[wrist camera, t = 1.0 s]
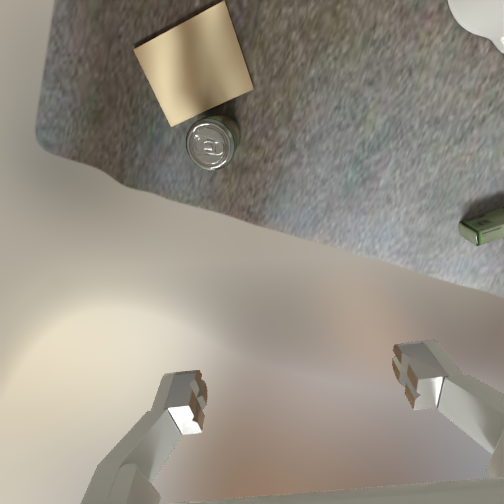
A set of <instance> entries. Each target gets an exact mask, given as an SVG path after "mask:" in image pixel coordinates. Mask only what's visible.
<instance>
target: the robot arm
mask: <svg viewBox="0 0 504 504" xmlns="http://www.w3.org/2000/svg"><path fill="white" fill-rule="evenodd" d="M448 4H449V7H450V10H451V12H452V14H453V16H454V17H455V19H456V20H457V22H458V23H459V24H460V25H461V26H462V27H463V28H464V29H466V30H467V31H469V32H471V33H473V34H476V35H479V36H483V37H486V38H488V39H490V40H492V42H493V43H494V44H495V46H496V47H497V48H498V49H499V50H500V51H501V52H502V53H503V54H504V0H448ZM393 352H394V354H395V356H394V357H393V358H392V366H393V370H394V373H395V376H396V378H397V380H398V382H399V383H400V384H401V385H403V386H404V387H405V395H406V397H407V399H408V401H409V403H410V404H411V406H412V408H413V410H424V409H438V410H439V411H440V412H441V413H442V414H443V415H445V416H446V417H447V418H448V419H449V420H451V421H452V422H453V423H454V424H456V425H457V426H458V427H459V428H461V429H462V430H463V431H464V432H465V433H467V434H468V435H469V436H470V437H472V438H473V439H474V440H475V441H476V442H478V443H479V444H480V445H481V446H483V447H484V448H485V449H486V450H487V451H489V452H490V453H491V454H492V457H491V459H490V461H489V463H488V465H487V468H486V472H487V473H488V475H489V476H490V478H485V479H474V480H473V479H472V480H459V481H446V482H435V483H421V484H408V485H396V486H383V487H370V488H357V489H344V490H332V491H319V492H307V493H293V494H281V495H269V496H255V497H243V498H231V499H218V500H206V501H192V502H180V503H167V504H504V394H503V393H501V392H499V391H497V390H495V389H494V388H492V387H490V386H488V385H487V384H485V383H483V382H481V381H480V380H478V379H476V378H474V377H472V376H470V375H464V373H463V372H462V371H461V370H460V368H459V367H458V366H457V365H456V363H455V362H454V361H453V360H452V359H451V357H450V356H449V355H448V354H447V352H446V351H445V350H444V349H443V347H442V346H441V345H440V344H439V342H438V341H436V340H435V339H432V340H425V341H415V342H408V343H402V344H395V345H394V346H393ZM201 377H202V374H201V372H200V370H195V371H185V372H174V373H167V374H164V376H163V378H162V380H161V383H160V386H159V388H158V391H157V394H156V397H155V400H154V403H153V406H152V409H151V411H148V412H146V414H145V415H144V416H143V417H142V418H141V419H140V420H139V421H138V422H137V423H136V424H135V425H134V427H133V428H132V429H131V430H130V431H129V432H128V433H127V434H126V435H125V436H124V438H123V439H122V440H121V441H120V442H119V443H118V444H117V445H116V446H115V447H114V448H113V450H112V451H111V452H110V453H109V454H108V455H107V456H106V457H105V458H104V459H103V460H102V461H101V462H100V464H99V465H98V466H97V468H96V470H95V473H94V475H93V477H92V479H91V482H90V484H89V486H88V488H87V491H86V493H85V495H84V497H83V500H82V502H81V504H159V503H160V499H161V497H160V494H159V493H158V492H157V490H156V489H155V488H154V487H153V485H152V483H153V481H154V480H155V478H156V477H157V475H158V473H159V472H160V470H161V469H162V467H163V465H164V464H165V463H166V461H167V459H168V458H169V456H170V455H171V453H172V452H173V450H174V449H175V447H176V446H177V444H178V442H179V441H180V439H181V438H182V435H187V434H194V433H201V432H202V429H203V423H204V417H205V415H204V413H203V411H202V410H203V409H204V407H205V406H206V405H207V386H206V383H205V382H204V381H203V380H201Z"/></svg>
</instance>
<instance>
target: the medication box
mask: <svg viewBox="0 0 504 504" xmlns="http://www.w3.org/2000/svg"><path fill="white" fill-rule="evenodd" d="M459 233H460V235H461V236H462V237H464V238H465V239H467V240H468V241H470V242H471V243H473V244H474V245H475V246H479V245H482V244H485V243H489V242H492V241H495V240H498V239H501V238H504V207H503V208H500V209H497V210H494V211H491V212H488V213H485V214H482V215H479V216H476V217H473V218H470V219H467V220H464V221H462V222H460V223H459Z"/></svg>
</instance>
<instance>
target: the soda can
mask: <svg viewBox="0 0 504 504" xmlns="http://www.w3.org/2000/svg"><path fill="white" fill-rule="evenodd" d="M240 138H241V134H240V129H239V127H238V125H237V123H236V122H235V121H234V120H233V119H232V118H231V117H229V116H227V115H215V116H211V117H207V118H203V119H200V120H198V121H196V122H195V123H194V124H193V125H192V126H191V127H190V129H189V131H188V133H187V136H186V148H187V152H188V154H189V156H190V158H191V159H192V161H193V162H194V163H195V164H196V165H198V166H199V167H201V168H203V169H205V170H211V171H214V170H219V169H222V168H224V167H225V166H226V165H227V164H228V163H229V162H230V161H231V160H232V158H233V155H234V153H235V151H236V149H237V147H238V145H239V142H240Z"/></svg>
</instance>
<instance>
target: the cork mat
mask: <svg viewBox="0 0 504 504" xmlns="http://www.w3.org/2000/svg"><path fill="white" fill-rule="evenodd" d="M134 52H135V54H136V56H137V58H138V60H139V62H140V64H141V66H142V68H143V70H144V72H145V74H146V76H147V79H148V81H149V83H150V85H151V87H152V89H153V91H154V93H155V95H156V97H157V99H158V101H159V103H160V105H161V107H162V109H163V111H164V113H165V115H166V117H167V119H168V122H169V124H170V126H171V127H172V126H174V125H176V124H179V123H181V122H183V121H185V120H187V119H189V118H192V117H194V116H196V115H198V114H200V113H203V112H205V111H207V110H209V109H211V108H213V107H216V106H218V105H220V104H222V103H224V102H226V101H229V100H231V99H233V98H235V97H237V96H239V95H242V94H244V93H246V92H248V91H250V90H252V89H254V88H253V85H252V82H251V79H250V76H249V73H248V70H247V67H246V64H245V61H244V58H243V55H242V52H241V49H240V46H239V43H238V40H237V37H236V34H235V31H234V28H233V25H232V22H231V19H230V16H229V13H228V10H227V7H226V4H225V1H222V2H220V3H219V4H217V5H215V6H213V7H211V8H209V9H208V10H206V11H204V12H202V13H200V14H198V15H196V16H195V17H193V18H191V19H189V20H187V21H185V22H184V23H182V24H180V25H178V26H176V27H174V28H173V29H171V30H169V31H167V32H165V33H163V34H161V35H160V36H158V37H156V38H154V39H152V40H150V41H149V42H147V43H145V44H143V45H141V46H139V47H137V48H136V49H134Z"/></svg>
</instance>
